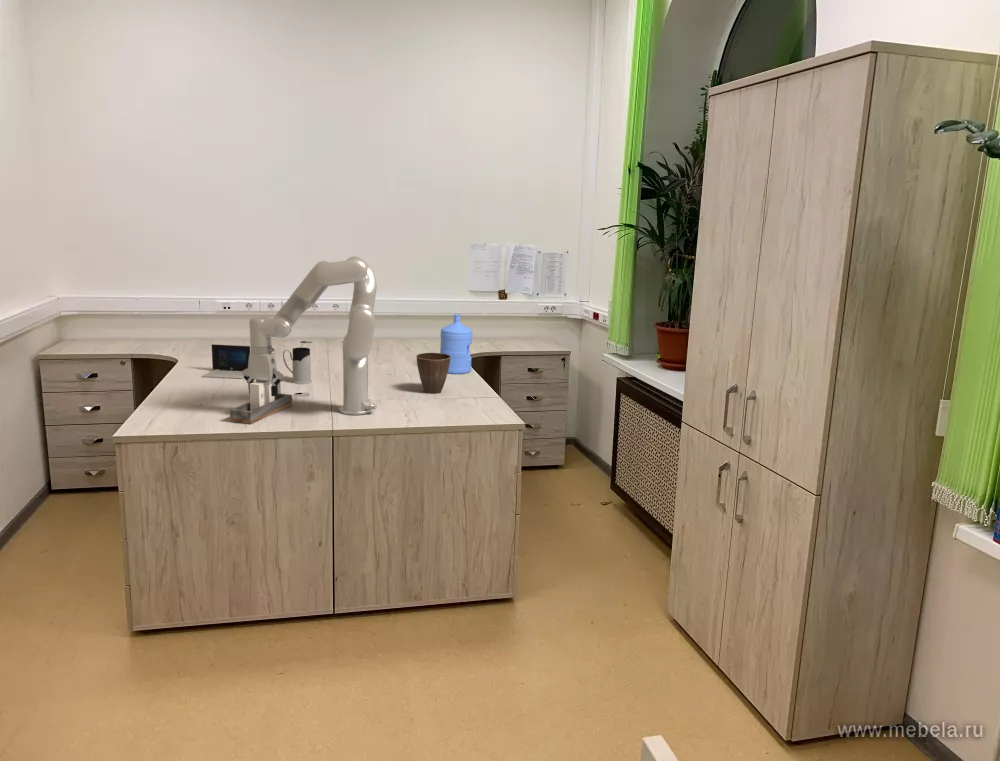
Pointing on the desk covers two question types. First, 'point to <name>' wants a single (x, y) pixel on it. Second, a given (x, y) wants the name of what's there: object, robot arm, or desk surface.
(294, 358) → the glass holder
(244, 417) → the door track
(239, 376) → the laptop
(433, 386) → the plant pot
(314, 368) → the desk surface
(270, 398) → the white rectangular box
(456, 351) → the water jug
